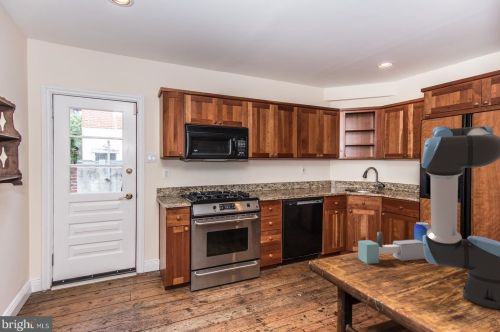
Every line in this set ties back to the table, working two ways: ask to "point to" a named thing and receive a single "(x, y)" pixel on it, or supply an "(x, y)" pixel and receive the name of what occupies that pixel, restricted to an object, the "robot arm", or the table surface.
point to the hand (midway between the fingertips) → (442, 202)
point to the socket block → (368, 251)
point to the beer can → (420, 230)
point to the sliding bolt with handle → (386, 246)
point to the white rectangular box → (409, 250)
